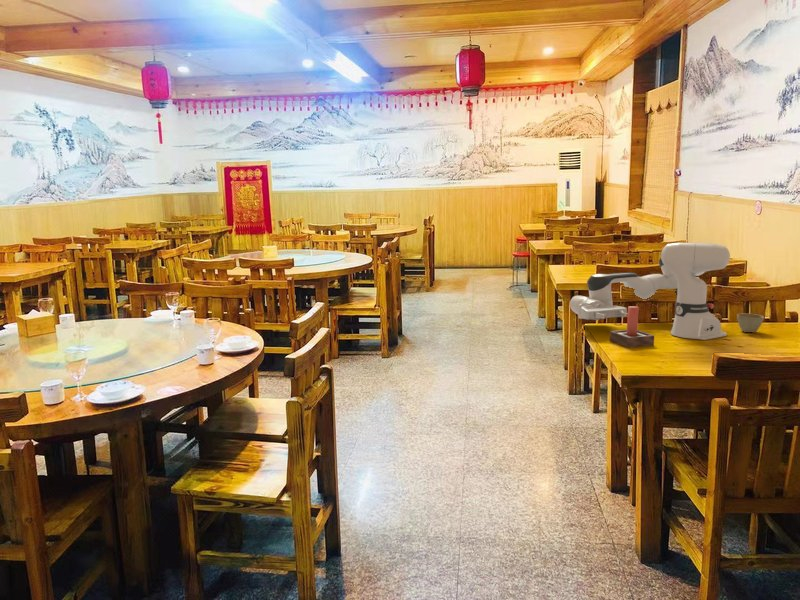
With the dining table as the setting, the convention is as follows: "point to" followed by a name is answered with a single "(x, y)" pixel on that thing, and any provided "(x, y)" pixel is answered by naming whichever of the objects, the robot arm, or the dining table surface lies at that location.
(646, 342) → the box
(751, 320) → the flower pot
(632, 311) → the peg
